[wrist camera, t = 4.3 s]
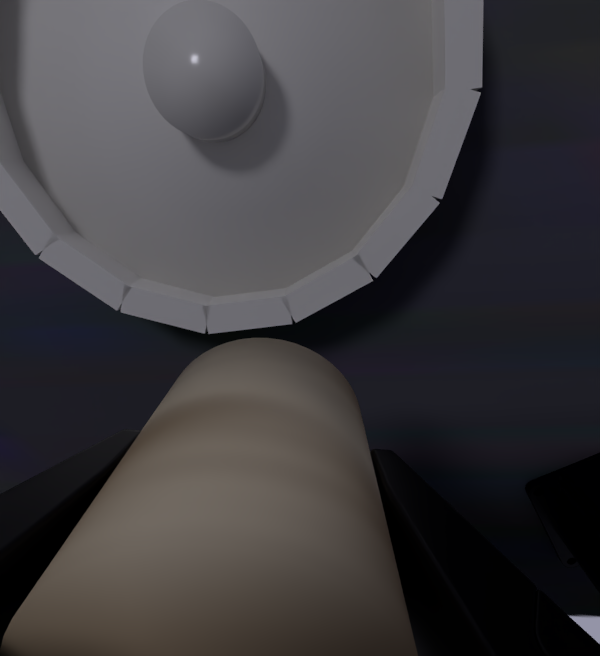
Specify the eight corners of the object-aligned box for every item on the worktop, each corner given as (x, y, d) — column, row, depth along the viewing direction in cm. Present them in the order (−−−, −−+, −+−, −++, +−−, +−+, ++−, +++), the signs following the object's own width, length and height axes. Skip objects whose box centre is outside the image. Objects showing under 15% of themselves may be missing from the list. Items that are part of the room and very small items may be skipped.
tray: (524, 179, 16) (562, 177, 14) (170, 375, 20) (150, 401, 17) (304, -404, 11) (302, -567, 9) (-117, -8, 15) (-202, -47, 12)
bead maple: (349, 513, 10) (390, 827, 5) (168, 499, 10) (33, 802, 5) (374, 345, 8) (468, 564, 3) (161, 329, 8) (-45, 526, 3)
